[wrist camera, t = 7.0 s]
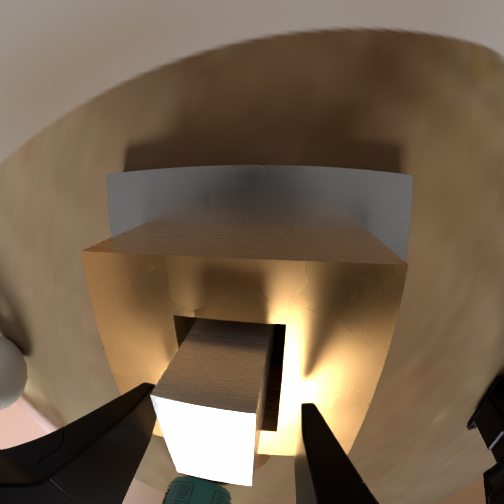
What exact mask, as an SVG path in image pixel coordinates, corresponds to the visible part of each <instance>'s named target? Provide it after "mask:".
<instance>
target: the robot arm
mask: <svg viewBox="0 0 504 504" xmlns="http://www.w3.org/2000/svg"><path fill="white" fill-rule="evenodd" d="M155 386H156V385H155V384H152V383H147V382H144V383H142V384H140V385H138V386H137V387H135V388H133V389H131V390H130V391H128V392H126V393H125V394H123V395H121V396H119V397H118V398H116V399H114V400H112V401H110V402H109V403H107V404H105V405H103V406H102V407H100V408H98V409H96V410H94V411H92V412H91V413H89V414H87V415H85V416H83V417H81V418H79V419H78V420H76V421H74V422H72V423H70V424H68V425H66V426H65V427H62V428H60V429H58V430H56V431H54V432H52V433H50V434H48V435H45V436H43V437H40V438H38V439H35V440H33V441H30V442H27V443H24V444H21V445H18V446H15V447H11V448H8V449H3V450H0V504H122V502H123V500H124V498H125V496H126V493H127V491H128V489H129V486H130V484H131V482H132V480H133V478H134V475H135V473H136V471H137V469H138V467H139V464H140V462H141V460H142V458H143V456H144V453H145V451H146V449H147V447H148V444H149V442H150V439H151V436H152V433H153V430H154V427H155V423H156V420H157V415H156V412H155V409H154V406H153V403H152V399H151V396H150V394H151V393H152V391H153V389H154V388H155ZM477 427H478V429H479V431H480V433H481V435H482V438H483V440H484V442H485V444H486V446H487V448H488V450H491V451H492V453H493V455H494V458H495V460H496V462H498V463H496V464H495V465H494V466H493V467H492V468H490V469H488V470H487V471H486V472H484V473H483V477H484V488H485V497H486V504H504V375H501V376H499V377H498V378H497V379H496V380H495V381H494V383H493V385H492V386H491V388H490V390H489V392H488V393H487V395H486V397H485V399H484V400H483V402H482V403H481V405H480V407H479V408H478V410H477V411H476V413H475V414H474V416H473V418H472V419H471V420H470V422H469V423H468V425H467V428H468V430H471V429H474V428H477ZM295 484H296V504H379V503H378V501H377V500H376V499H375V497H374V496H373V494H372V493H371V492H370V490H369V489H368V487H367V486H366V484H365V483H363V480H362V478H361V476H360V475H359V473H358V472H357V470H356V469H355V467H354V466H353V464H352V462H351V461H350V459H349V458H348V456H347V455H346V453H345V451H344V450H343V448H342V447H341V445H340V443H339V442H338V440H337V439H336V437H335V435H334V434H333V432H332V431H331V429H330V427H329V426H328V424H327V422H326V421H325V419H324V418H323V416H322V414H321V413H320V411H319V409H318V408H317V406H316V405H315V404H314V403H301V405H300V410H299V416H298V423H297V437H296V450H295Z"/></svg>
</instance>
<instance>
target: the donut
mask: <svg viewBox="0 0 504 504" xmlns="http://www.w3.org/2000/svg"><path fill="white" fill-rule="evenodd" d="M26 381H27V364H26V362H25V359H24V357H23V354H22V352H21V351H20V350H19V349H18V347H17V346H16V345H15V344H14V343H13V342H12V341H10V340H8V339H6V338H5V337H2V336H0V410H1V409H4V408H7V407H9V406H10V405H11V404H13V403H14V402H15V401H17V400H18V398H19V397H20V395H21V394H22V393H23V391H24V388H25V385H26Z"/></svg>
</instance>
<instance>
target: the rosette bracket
mask: <svg viewBox="0 0 504 504" xmlns="http://www.w3.org/2000/svg"><path fill="white" fill-rule="evenodd" d="M412 189H413V175H408V174H400V173H392V172H383V171H373V170H363V169H351V168H337V167H320V166H296V165H218V166H194V167H177V168H163V169H151V170H140V171H130V172H121V173H113V174H107V192H108V207H109V219H110V229H111V238H109V239H107V240H105V241H102V242H100V243H98V244H96V245H94V246H91V247H89V248H87V249H85V250H83V251H82V257H83V263H84V269H85V274H86V279H87V284H88V289H89V293H90V298H91V302H92V306H93V310H94V314H95V318H96V322H97V326H98V329H99V333H100V336H101V339H102V343H103V346H104V349H105V352H106V356H107V359H108V362H109V364H110V367H111V370H112V373H113V376H114V379H115V381H116V384H117V386H118V389H119V392H120V394H121V395H123V394H125V393H126V392H128V391H130V390H131V389H133V388H135V387H137V386H138V385H140V384H142V383H144V382H147V383H152V384H155V385H157V383H158V381H159V380H160V378H161V376H162V375H163V373H164V372H165V370H166V368H167V367H168V365H169V364H170V362H171V360H172V359H173V357H174V356H175V354H176V352H177V351H178V349H179V348H180V346H181V344H182V343H183V341H184V340H185V338H186V336H187V335H188V333H189V332H190V330H191V328H192V327H193V325H194V324H195V322H196V321H197V319H198V318H206V319H216V320H228V321H240V322H254V323H271V324H286V326H285V341H284V348H278V347H273V355H272V362H271V370H270V377H269V384H268V391H267V397H266V404H265V410H264V417H263V423H262V429H261V436H260V442H259V448H258V453H257V459H256V465H255V469H256V468H259V467H261V466H262V465H264V464H265V463H266V462H267V461H268V459H269V458H270V455H271V454H273V455H295V450H296V437H297V423H298V416H299V410H300V405H301V403H314V404H315V405H316V406H317V408H318V409H319V411H320V413H321V414H322V416H323V418H324V419H325V421H326V422H327V424H328V426H329V427H330V429H331V431H332V432H333V434H334V435H335V437H336V439H337V440H338V442H339V443H340V445H341V447H342V448H343V450H344V451H345V453H346V454H348V453H349V451H350V449H351V447H352V445H353V442H354V440H355V438H356V436H357V434H358V431H359V429H360V427H361V425H362V422H363V420H364V418H365V415H366V413H367V410H368V408H369V405H370V403H371V400H372V397H373V395H374V392H375V389H376V386H377V384H378V381H379V378H380V375H381V372H382V369H383V366H384V363H385V360H386V356H387V353H388V350H389V346H390V343H391V339H392V336H393V332H394V328H395V324H396V320H397V316H398V312H399V308H400V303H401V299H402V294H403V289H404V284H405V279H406V273H407V267H408V264H407V263H406V262H405V257H406V250H407V243H408V235H409V226H410V216H411V204H412ZM152 434H155V435H158V436H162V437H164V436H163V433H162V430H161V427H160V424H159V421H158V418H157V420H156V423H155V427H154V430H153V433H152Z"/></svg>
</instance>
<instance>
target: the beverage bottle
mask: <svg viewBox="0 0 504 504" xmlns="http://www.w3.org/2000/svg"><path fill="white" fill-rule="evenodd" d="M168 487H169V489H168V488H167V490H168V492H166V494H165V496H166V497H165V499H163V501H164V502H163V504H231V502H230V499H231V497H230V493H229V492H228V491H227V490H226V489H225V488H223V487H221V486H219V485H217V484H214V483H212V482H209V481H205V480H202V479H197V478H192V477H177V478H175V479H174V480H173V481H172V482H171V485H169V486H168ZM231 501H232V500H231Z"/></svg>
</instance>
